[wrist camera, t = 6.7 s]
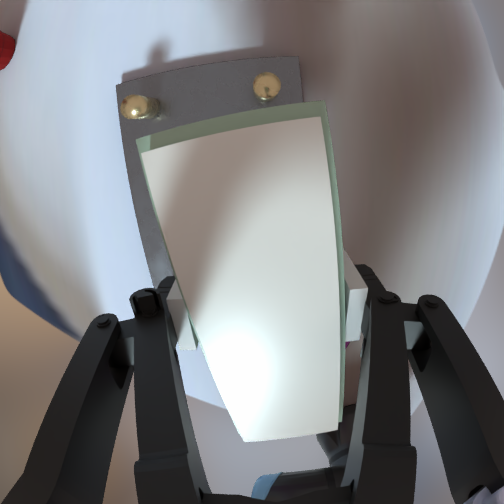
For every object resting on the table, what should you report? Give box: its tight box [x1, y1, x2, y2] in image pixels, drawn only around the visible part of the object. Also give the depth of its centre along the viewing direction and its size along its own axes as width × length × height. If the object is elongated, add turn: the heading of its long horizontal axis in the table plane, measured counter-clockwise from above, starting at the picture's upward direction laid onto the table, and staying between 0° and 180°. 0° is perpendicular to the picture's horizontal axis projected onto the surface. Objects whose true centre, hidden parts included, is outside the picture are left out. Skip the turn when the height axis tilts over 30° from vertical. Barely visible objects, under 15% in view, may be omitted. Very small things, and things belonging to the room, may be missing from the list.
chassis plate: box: [116, 56, 303, 289], centre depth 30 cm, size 30×20×6 cm, turn 5°
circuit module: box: [136, 100, 345, 442], centre depth 14 cm, size 16×6×8 cm, turn 11°
